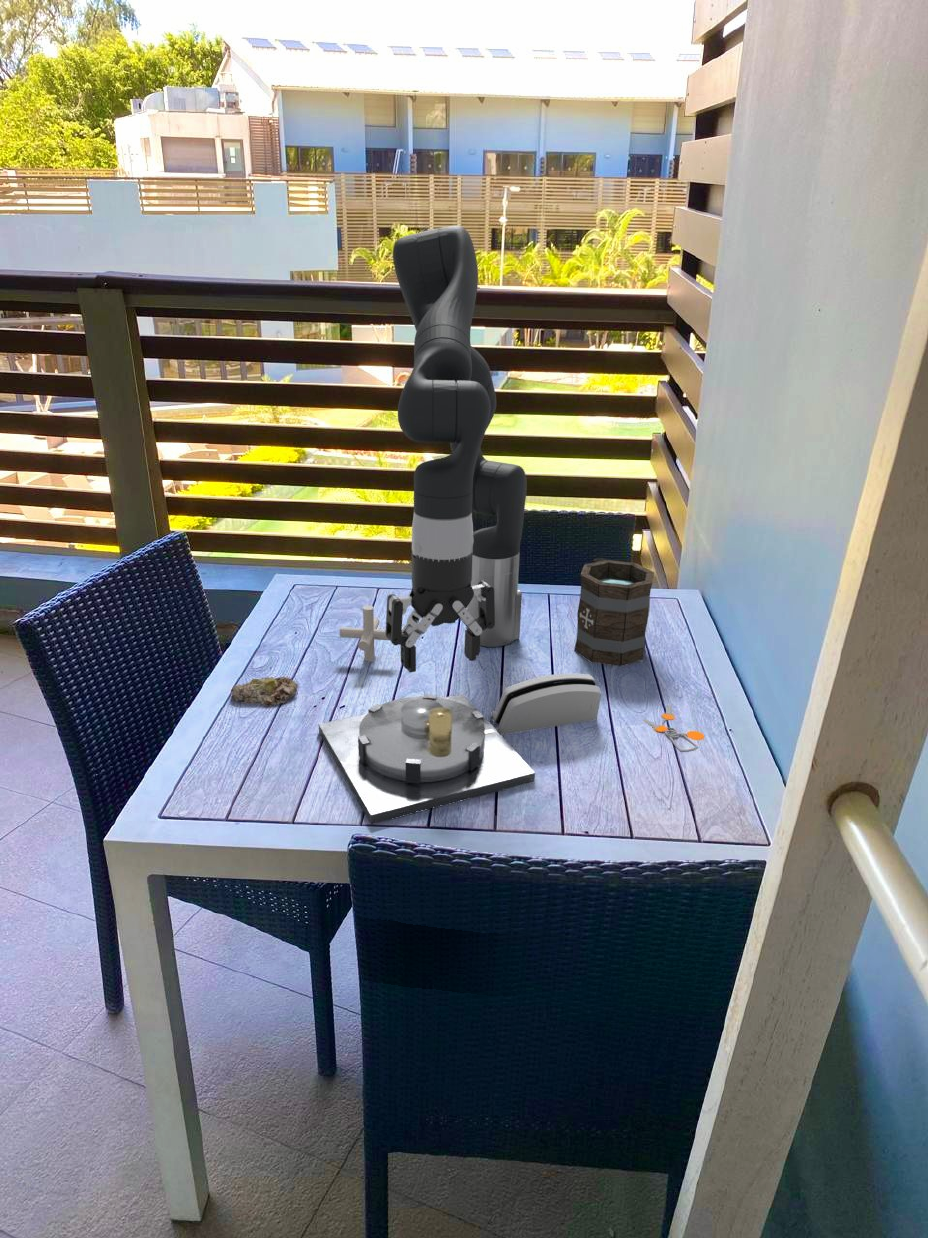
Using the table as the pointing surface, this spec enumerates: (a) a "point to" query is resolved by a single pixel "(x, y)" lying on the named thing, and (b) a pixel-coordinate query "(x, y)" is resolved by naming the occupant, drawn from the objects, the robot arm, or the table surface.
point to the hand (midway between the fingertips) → (440, 663)
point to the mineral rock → (265, 691)
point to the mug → (613, 612)
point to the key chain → (661, 728)
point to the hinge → (547, 703)
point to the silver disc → (421, 739)
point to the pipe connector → (366, 633)
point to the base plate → (400, 798)
